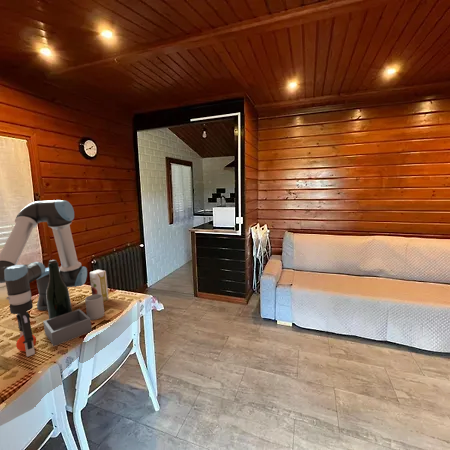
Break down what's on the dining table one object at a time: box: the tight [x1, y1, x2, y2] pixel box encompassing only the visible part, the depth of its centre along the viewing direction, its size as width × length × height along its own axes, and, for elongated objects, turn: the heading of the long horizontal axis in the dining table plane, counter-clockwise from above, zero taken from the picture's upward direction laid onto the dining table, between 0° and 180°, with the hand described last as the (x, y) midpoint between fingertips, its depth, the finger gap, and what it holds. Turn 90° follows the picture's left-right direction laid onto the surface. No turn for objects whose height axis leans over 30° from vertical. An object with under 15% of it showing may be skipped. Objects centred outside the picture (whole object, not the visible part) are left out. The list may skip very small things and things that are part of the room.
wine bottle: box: [46, 259, 73, 319], centre depth 133 cm, size 10×10×33 cm
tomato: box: [15, 334, 37, 352], centre depth 109 cm, size 8×7×7 cm
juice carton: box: [89, 269, 109, 303], centre depth 157 cm, size 8×9×19 cm
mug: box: [84, 294, 105, 321], centre depth 139 cm, size 12×8×11 cm
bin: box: [42, 308, 93, 347], centre depth 122 cm, size 16×16×6 cm
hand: (28, 349), depth 110 cm, fingers open, 10 cm apart
